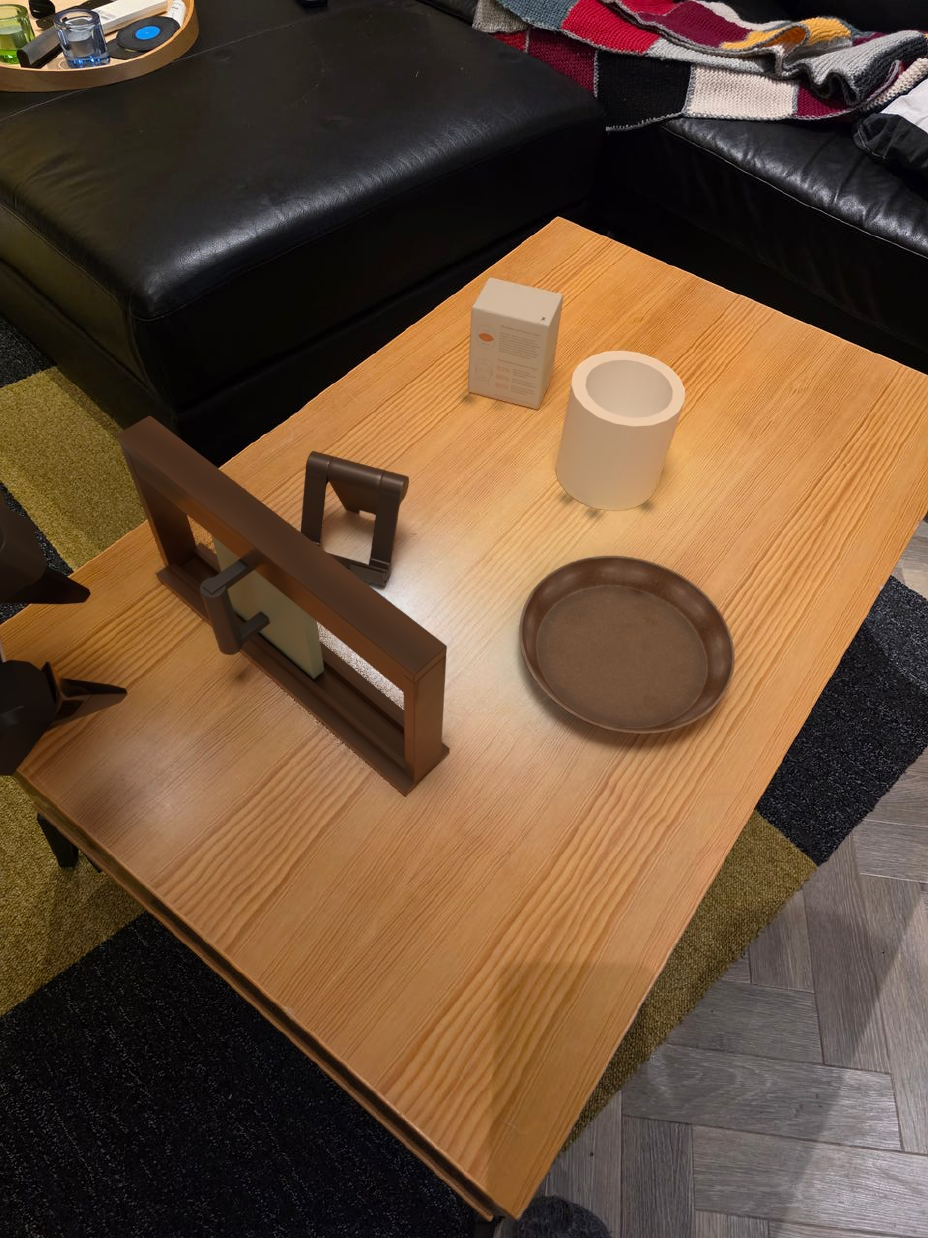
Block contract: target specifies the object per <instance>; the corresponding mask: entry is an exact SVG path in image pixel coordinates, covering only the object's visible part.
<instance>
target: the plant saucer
mask: <svg viewBox="0 0 928 1238" xmlns="http://www.w3.org/2000/svg"><path fill="white" fill-rule="evenodd" d="M520 615H521V616H520V620H519V628H518V637H519V646H520V650H521V653H522V656H523V659H524V663H525V664H526V667H527V668H528V670H529V672H530V674H531V675H532V677H533V679H534V680H535V682H536V683H537V685H538V686H539V687H540V688H541V689H542V690H543V692H544V693H545V694H546V695H547V696H548V697H549V698H550V699H551V700H552V701H553V702H555V704H557V705H558V706H559V707H561V708H562V709H563V710H565V711H566V712H567V713H569V714H571V715H572V716H574V717H575V718H577V719H579V720H581V721H583V722H585V723H587V724H590V725H591V726H595V727H597V728H600V729H603V730H607V731H612V732H616V733H622V734H631V735H650V734H659V733H665V732H671V731H673V730H676V729H681V728H683V727H686V726H688V725H691V724H692V723H694V722H696V721H698V720H700V719H701V718H702V717H704V716H706V715H707V714H709V713H710V712H711V711H712V710H713V709H714V708H715V707H716V706H717V705H718V704H719V703H720V701H721V700H722V699H723V698H724V696H725V694H726V692H727V691H728V689H729V687H730V684H731V683H732V678H733V675H734V670H735V663H736V655H735V647H734V641H733V638H732V637H733V636H732V633H731V632H730V628H729V626H728V624H727V621H726V619H725V618H724V616H723V613H721V611H720V610H719V609H718V607H717V605H716V604H715V603H714V602H713V600H712V599H711V598H710V597H709V596H708V595H707V594H706V593H705V592H704V591H703V590H702V589H701V588H699V586H697V585H696V584H695V583H693V582H692V581H691V580H689V578H686V577H685V576H684V575H682V574H680V573H679V572H677V571H675V570H672V569H670V568H668V567H666V566H664V565H662V564H660V563H655V562H653V561H650V560H647V559H642V558H636V557H632V556H626V555H597V556H590V557H585V558H581V559H577V560H575V561H571V562H569V563H567V564H564V565H562V566H560V567H558V568H557V569H554V570H553V571H551V572H550V573H548V574H547V575H546V576H545V577H544V578H543V579H541V581H539V582H538V584H536V586H535V587H534V588H533V590H532V591H531V592H530V593H529V595H528V597H527V599H526V601H525V603H524V605H523V608H522V611H521V614H520Z"/></svg>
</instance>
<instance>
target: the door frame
mask: <svg viewBox="0 0 928 1238" xmlns="http://www.w3.org/2000/svg"><path fill="white" fill-rule="evenodd" d="M116 438H117V441H118V444H119V446H120V449H121V451H122V453H123V454H122V455H123V457H124V460H125V462H126V466H127V468H128V470H129V473H130V476H131V479H132V481H133V484H134V487H135V490H136V492H137V496H138V497H139V501H140V503H141V506H142V508H143V512H144V515H145V516H146V519H147V522H148V525H149V528H150V531H151V533H152V535H153V536H152V537H153V538H154V541H155V544H156V547H157V549H158V551H159V555H160V557H161V560H162V562H163V566H164V567H163V568H161V569H160V570H158V571H157V572H156V573H155V576H156V578H157V580H158V581H159V582H160V583H161V584H162V585H163V586H165V587H166V588H167V589H169V591H171V593H173V594H174V595H175V597H177V598H178V599H179V600H181V601H182V602H183V603H184V605H186V606H188V607H189V609H191V610H192V611H193V612H194V613H195V614H197V615H198V616H199V617H200V618H201V619H202V620H203V621H204V622H205V623H206V624H208V625H209V626H210V627H212V625H211V622H210V619H209V616H208V613H207V610H206V607H205V604H204V601H203V598H202V595H201V592H200V586H201V584H202V582H203V581H204V580H206V579H208V578H211V577H215V576H216V575H218V574H219V573H221V568H220V565H219V561H218V558H217V554H216V552H215V551H213V550H212V549H210V547H208V546H207V545H205V544H204V543H203V542H199V543H198V544H197V543H196V539H195V537H194V533H193V530H192V526H191V523H190V520H189V518H190V519H192V520H193V521H194V522H196V524H197V525H198V526H200V528H203V529H204V530H205V531H206V532H207V533H208V534H210V536H211V535H212V536H214V537H215V538H216V539H217V540H218V541H220V542H221V543H222V544H223V545H225V546H226V547H227V548H228V549H229V550H231V551H232V552H233V553H234V554H235V555H237V556H238V557H239V558H240V559H242V560H243V561H244V562H245V563H246V564H248V565H249V566H250V567H251V568H253V569H254V570H255V571H256V572H257V573H259V574H260V575H261V576H262V577H264V578H265V579H266V580H267V581H268V582H270V583H271V584H272V585H273V586H274V587H276V588H277V589H278V590H279V591H281V592H282V593H283V594H284V595H285V596H287V597H288V598H289V599H290V600H292V601H293V602H294V603H295V604H296V605H298V606H299V607H300V608H301V609H302V610H304V611H305V612H306V613H307V614H309V615H310V616H311V617H312V618H313V619H315V620H316V621H317V624H319V625H320V626H322V627H323V628H324V629H325V630H327V632H329V633H330V634H331V635H333V637H335V638H336V639H338V640H339V641H340V642H341V643H342V644H344V645H345V646H346V647H347V648H349V649H350V650H351V651H352V652H353V653H354V654H356V655H357V656H358V657H359V658H361V659H362V660H363V661H364V662H366V663H367V664H368V665H369V666H371V667H372V668H373V669H374V670H375V671H376V672H378V673H379V674H380V675H382V676H383V677H384V678H385V679H386V680H388V681H389V682H390V683H391V684H392V685H394V686H395V687H396V688H397V689H398V690H400V691H401V692H402V693H403V708H402V707H401V706H399V705H398V704H397V703H396V702H395V701H393V700H392V699H391V698H390V697H388V695H386V694H385V693H384V692H383V691H381V689H379V688H378V687H376V685H374V684H373V683H372V682H371V681H370V680H368V679H367V678H366V677H365V676H363V674H361V673H360V672H359V671H357V670H356V669H355V668H353V666H352V665H350V664H349V663H348V662H347V661H345V660H344V659H343V658H342V657H341V656H339V655H338V654H337V653H336V652H335V651H334V650H333V649H331V648H330V647H329V646H327V645H326V644H325V643H324V642H322V641H321V640H320V645H321V652H322V658H323V664H324V671H323V672H322V673H321V674H319V675H318V676H317V677H316V678H315V679H313V678H311V677H310V676H309V675H308V674H307V673H306V672H304V671H303V670H302V669H301V668H300V667H299V666H297V665H296V664H295V663H294V662H293V661H292V660H290V659H289V658H288V657H287V656H286V655H285V654H283V653H282V652H281V651H280V650H279V649H278V648H276V647H275V646H274V645H273V644H272V643H271V642H269V641H268V640H267V639H266V638H265V637H264V636H262V635H261V634H260V633H259V632H258V633H257V634H256V635H254V636H253V637H252V638H251V639H249V640H248V641H247V642H245V643H244V644H243V646H242V648H241V650H240V651H239V653H241V654H242V655H243V656H245V658H246V659H248V660H249V661H250V662H251V663H252V664H253V665H255V667H256V668H258V669H259V670H260V671H262V673H264V674H265V675H266V676H267V677H268V678H269V679H271V681H273V682H274V683H275V684H276V685H277V686H278V687H279V688H281V689H282V691H284V692H285V693H287V694H288V695H289V696H290V697H291V698H292V699H293V700H295V702H297V703H298V704H299V705H300V706H301V707H302V708H303V709H304V710H306V711H307V712H308V713H309V714H310V715H312V716H313V717H314V718H315V719H316V720H317V721H318V722H319V723H321V724H322V725H323V726H324V727H325V728H326V729H327V730H328V731H329V732H331V733H332V734H333V735H334V736H335V737H336V738H337V739H338V740H340V741H341V742H342V743H343V744H345V745H346V747H348V748H349V749H350V750H351V751H352V752H354V753H355V754H356V755H357V757H359V758H361V760H362V761H364V762H365V763H366V764H367V765H369V767H370V768H372V769H373V770H374V771H375V772H376V773H377V774H379V775H380V776H381V777H382V778H383V779H384V780H385V781H387V782H388V783H389V784H390V785H391V786H392V787H393V788H395V789H396V790H397V792H399V793H400V794H401V795H402V796H404V797H407V795H408V794H410V792H411V791H413V790H414V789H415V788H416V787H417V786H418V785H419V784H420V783H421V782H422V781H423V780H424V779H425V778H426V777H427V776H428V775H429V774H430V773H431V772H432V771H433V770H434V769H435V768H436V767H437V766H438V765H439V764H440V763H442V761H443V760H444V759H445V758H446V757H447V756H448V755H449V754H450V751H451V749H450V747H449V746H448V745H446V743H444V742H443V724H444V710H445V709H444V707H445V692H446V691H445V688H446V671H447V651H448V649H447V648H448V646H447V644H445V643H444V642H442V640H440V639H439V638H437V637H436V636H435V635H434V634H432V633H431V632H430V631H428V630H427V629H426V628H425V627H423V626H422V625H421V624H420V623H419V622H417V621H415V619H413V618H412V617H410V616H409V615H408V614H407V613H405V612H404V611H403V610H402V609H400V608H399V607H398V606H396V605H395V604H394V603H392V602H391V601H389V600H388V598H386V597H385V596H384V595H382V594H381V593H379V592H378V591H377V590H376V589H374V588H373V587H371V586H370V585H369V584H368V583H366V581H364V580H361V579H360V578H359V577H357V576H356V575H355V574H354V573H352V572H351V571H350V570H348V569H347V568H346V567H345V566H343V565H342V564H341V563H339V562H338V561H337V560H336V559H334V558H333V557H332V556H330V555H329V554H328V553H329V552H327V551H325V550H324V549H323V548H322V547H321V548H320V547H319V546H317V545H316V544H315V543H314V542H312V541H311V540H310V539H308V538H307V537H306V536H305V535H303V534H302V533H301V531H300V530H298V529H297V528H296V527H295V526H293V525H292V524H290V523H289V522H288V521H287V520H285V519H284V518H283V517H281V515H279V514H278V513H276V512H275V511H274V510H273V509H271V508H270V507H269V506H267V505H266V504H264V503H263V502H262V501H261V500H259V499H258V498H257V497H255V495H253V494H252V493H250V492H249V491H248V490H247V489H246V488H244V487H243V486H242V485H240V484H239V483H237V481H235V480H234V479H233V478H231V477H230V476H228V475H227V474H226V472H225V473H224V472H223V471H222V470H221V469H219V468H218V467H217V466H216V465H214V464H213V463H212V462H210V461H209V460H208V459H207V458H205V457H204V456H202V454H200V453H199V452H198V451H197V450H195V449H194V448H193V447H191V446H190V445H189V444H188V443H186V442H185V441H183V440H182V439H181V438H180V437H178V436H177V435H176V434H174V433H173V432H172V431H171V430H169V429H168V428H167V427H166V426H164V425H163V424H161V423H160V422H159V421H158V420H157V419H156V418H154V417H152V416H151V415H148V416H146V417H145V418H143V419H141V420H140V421H138V422H136V423H134V424H133V425H131V426H130V427H128V428H126V429H124V430H123V431H121V432H119V433H118V434H116ZM234 614H235V618H236V621H237V625H238V628H239V627H240V626H242V625H243V624H244V623H246V621H245V620H244V619H243V618H241V617H240V616H239V615H238V614H237V613H236V612H234Z"/></svg>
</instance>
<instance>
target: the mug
mask: <svg viewBox="0 0 928 1238" xmlns="http://www.w3.org/2000/svg"><path fill="white" fill-rule="evenodd" d="M685 399H686V389H685V386H684V384H683V382H682V379H681V378H680V376H679V375H678V374H677V373H676V372H675V371H674V370H673V369H672V367H671V366H668V365H667V364H665V363H664V362H662V361H660V360H659V359H658V358H656V357H652V356H649V355H646V354H645V353H644V354H643V353H641V352H636V351H628V350H609V351H603V352H600V353H597V354H593V355H591V356H588V358H586V359H584V360H583V361H581V362H580V363H579V364H578V366H576V368H575V369H574V370H573V372H572V376H571V382H570V388H569V392H568V398H567V404H566V410H565V415H564V421H563V425H562V432H561V436H560V441H559V448H558V453H557V459H556V465H555V466H556V467H555V473H556V477H557V481H558V483H559V484H560V486H561V487H562V488H563V490H564V491H565V492H566V494H567V495H569V496H570V497H572V498H573V499H574V500H576V501H577V502H579V503H581V504H583V505H586V506H589V507H591V508H593V509H597V510H604V511H610V512H613V511H625V510H626V511H627V510H630V509H633V508H635V507H638V506H641V505H643V504H644V503H645V502H647V501H648V500H649V499H650V498H652V497H653V495H654V493H655V491H656V490H657V487H658V485H659V483H660V480H661V476H662V473H663V471H664V467H665V464H666V461H667V457H668V455H669V451H670V448H671V445H672V442H673V439H674V435H675V434H676V433H675V432H676V430H677V427H678V423H679V420H680V418H681V415H682V411H683V407H684V405H685V401H686V400H685Z"/></svg>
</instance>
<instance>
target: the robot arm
mask: <svg viewBox="0 0 928 1238" xmlns="http://www.w3.org/2000/svg"><path fill="white" fill-rule="evenodd" d="M36 532H37V528H36V525H35V523H34V522H33V521H31V520H30V519H28V518H27V517H24V516H23V515H21V514H20V513H18V512H17V511H15V510H14V509H12V508H10V507H9V505H8V502H7V499H6V495H5V493H4V491H3V489H1V488H0V605H2V604H12V605H15V604H16V605H19V604H20V605H71V604H73V605H75V604H84V603H86V602H87V601H88V599H89V598H90V596H91V594H92V593H91V590H90V588H88V587H86V586H85V585H82V584H81V583H79V582H78V581H76V580H74V579H72V578H70V577H68V576H67V575H65V574H63V573H62V572H60V571H58V570H56V569H55V568H53V567H51V566H49V565H47V558H46V555H45V553H44V552H43V551H42V549H41V546H40V542H39V540H38V538H37V534H36ZM128 694H129V693H128V691H127V689H126V687H122V686H118V685H114V684H110V683H104V682H97V681H88V680H81V679H74V678H68V677H67V678H66V677H61V676H60V675H59V673H58V672H57V670H56V669H55V668H54V666H53V664H52V663H51V662H50V661H45V663H44V664H43V666H41V668H38V667H37V666H36V665H35V664H33V663H31V662H30V661H29V660H27V661H26V660H18V659H8V658H7V656H6V652H5V649H4V645H3V641H2V638H1V637H0V777H12V776H13V775H14V774H15V772H16V771H17V770H18V768H19V767H20V766H21V765H22V763H23V762H24V761H25V760H26V758H27V757H28V755H29V754H30V753H31V752H32V750H33V749H34V748H35V747H36V745H37V744H38V743H39V741H40V740H41V739H42V738H43V736H44V735H46V733H49V732H50V731H52V730H54V729H57V728H59V727H61V726H64V725H66V724H68V723H72V722H74V721H76V720H79V719H81V718H84V717H86V716H90V715H92V714H95V713H97V712H99V711H103V710H105V709H108V708H111V707H113V706H115V705H118V704H120V703H122V702H123V701H124V700H125V698H127V696H128Z"/></svg>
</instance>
